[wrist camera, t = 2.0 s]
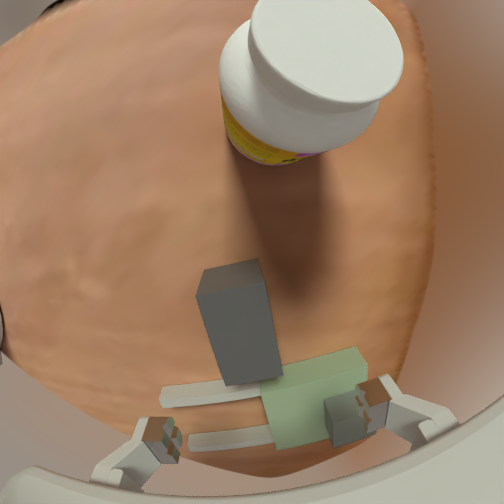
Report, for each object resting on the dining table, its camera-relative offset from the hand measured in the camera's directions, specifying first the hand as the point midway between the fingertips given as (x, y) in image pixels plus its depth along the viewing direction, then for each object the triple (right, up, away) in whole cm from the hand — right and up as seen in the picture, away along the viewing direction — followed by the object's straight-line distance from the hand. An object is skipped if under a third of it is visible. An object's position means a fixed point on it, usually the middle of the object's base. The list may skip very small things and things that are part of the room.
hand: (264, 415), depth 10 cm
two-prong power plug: (+1, -8, +14) cm, 16 cm away
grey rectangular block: (-1, +3, +11) cm, 11 cm away
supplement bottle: (+1, +16, +8) cm, 18 cm away
